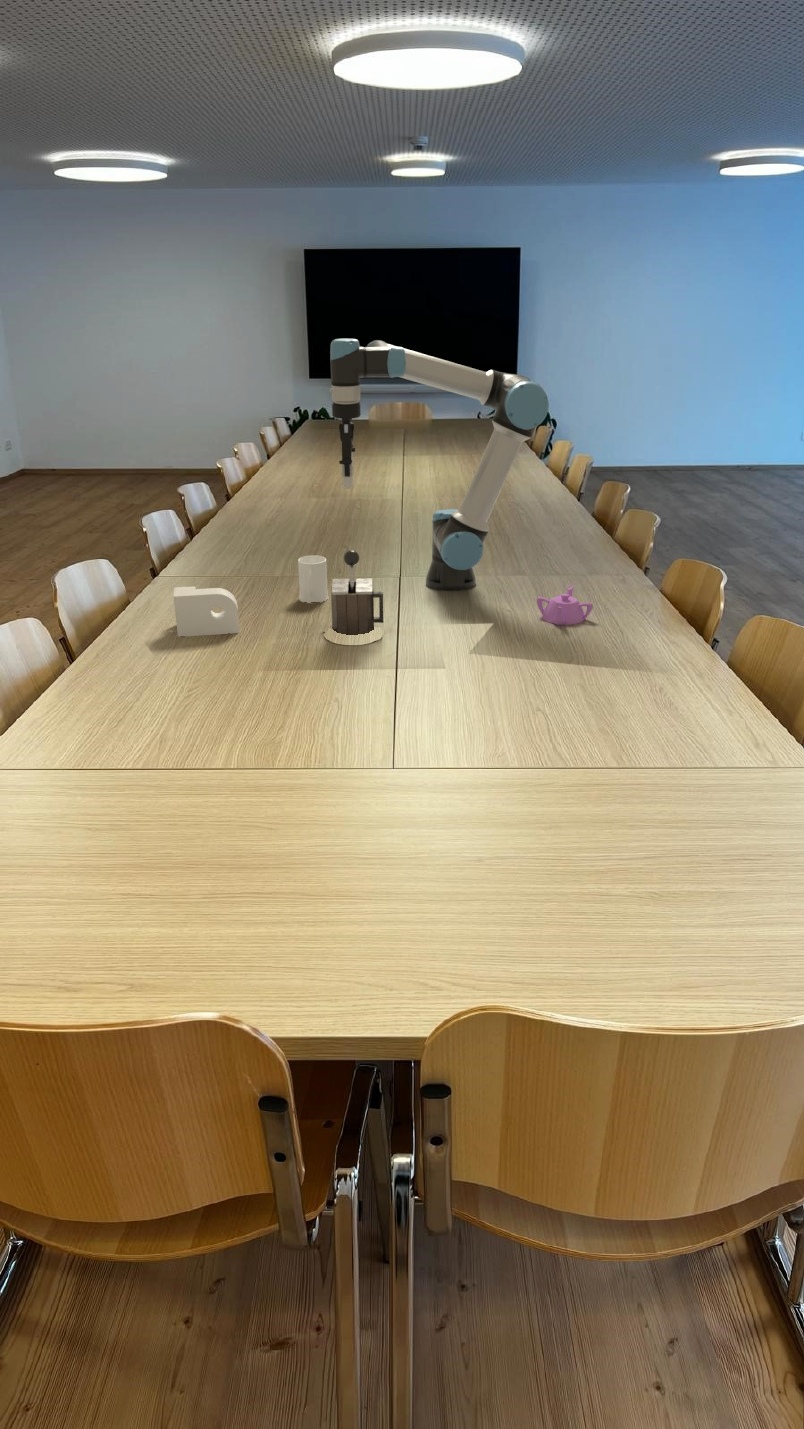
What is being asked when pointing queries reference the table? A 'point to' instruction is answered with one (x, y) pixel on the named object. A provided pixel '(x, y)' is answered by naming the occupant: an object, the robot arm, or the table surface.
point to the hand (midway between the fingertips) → (348, 482)
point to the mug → (312, 579)
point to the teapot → (563, 609)
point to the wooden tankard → (354, 606)
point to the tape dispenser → (205, 611)
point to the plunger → (351, 565)
